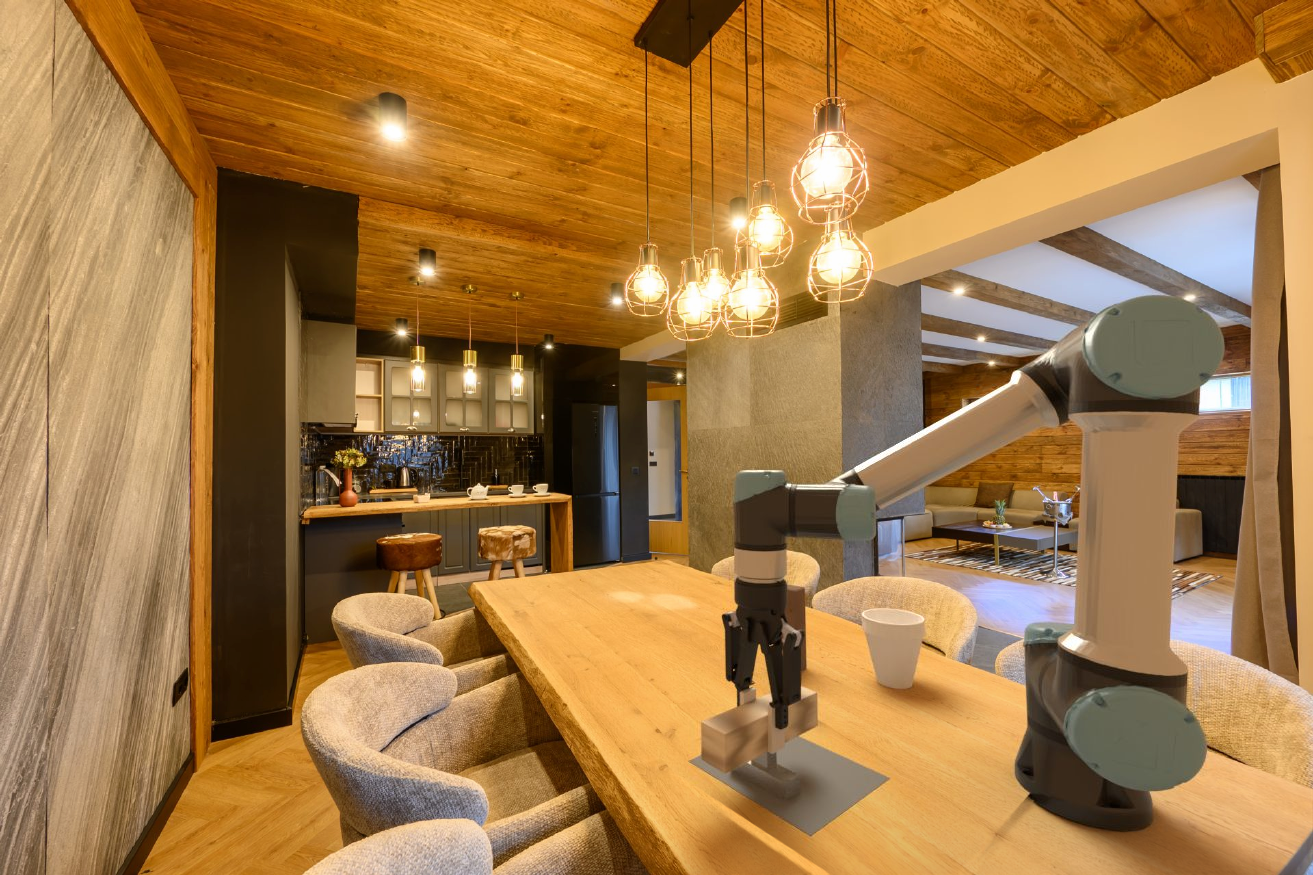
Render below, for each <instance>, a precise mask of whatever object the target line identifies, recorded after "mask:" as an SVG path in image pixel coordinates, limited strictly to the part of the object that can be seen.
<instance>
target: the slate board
mask: <svg viewBox="0 0 1313 875" xmlns="http://www.w3.org/2000/svg"><path fill="white" fill-rule="evenodd" d="M776 754H777V764H779V765H781V766H783V767H784V768H786V769H788V770H790V771H792V772H794V773H796V774H798V775H799V777H800V794H799V795H797V796H796V797H794V798H793V799H791V800H790V801H788V802H784V801H782V800H781V799H779V798H777V797H775V796H774V795H772V794H770V793H768V792H767V791H765V790H763V789H762V788H760V787H758V786H756V785H755V784H753V783H751V782H750V781H748V780H746V779H744V778H743V777H741V776H739V775H737V774H736V773H734V772H732V771H730V772H728V773H726V774H724V773H723V772H721V771H719V770H718V769H716V768H715V767H713V766H711V765H710V764H708V763H706V762H705V761H703V760H701V754H700V755H698V756H696V757H694V758H692V759H689V760H688V763H691V764H692V765H694V766H696V767H697V768H699V769H700V770H701V771H703V772H705V773H707V774H708V775H710V776H712V777H713V778H715V779H716V780H718V781H719V782H722V784H724V785H726V786H728V787H730V788H731V789H733V790H734V791H736V792H737V793H739V794H741V795H742V796H745V798H748V799H749V800H751V801H752V802H754V803H756V804H758V806H760V807H762V808H764V809H766V810H767V811H769V812H771V814H773V815H775V816H777V817H778V818H780V819H781V820H783V821H785V822H787V823H788V824H790V825H791V826H793V827H795V828H797V829H798V830H799V831H801V832H802V833H803V832H804V833H805V834H806V835H808V836H809V837H812V836H813V835H814V834H816V833H817V832H819V831H820V830H821V829H823V828H825V826H827V825H828V824H830V823H831V822H832V821H834V820H836V818H838V817H839V816H840V815H841V816H842V814H844V813H845V812H846V811H847V810H849V809H850V808H852V807H853V806H855V804H857V803H859V802H860V801H861V800H862V799H864V798H865V797H867V796H868V795H870V794H871V793H873V792H874V791H875V790H876V789H878V788H879V787H880V786H881V785H883V784H885V783H886V782H887V781H889V780H891V777H889V776H886V775H885V774H882V773H880V772H878V771H875V770H874V769H871V768H869V767H867V766H865V765H863V764H860V763H858V762H856V761H854V760H852V759H849V758H847V757H845V756H843V755H840V754H838V753H836V752H835V751H832V750H830V749H828V748H826V747H823V746H821V745H820V744H816V743H815V742H813V741H811V740H808V739H806V738H803V737H802V736H800V735H799V736H797V737H796V738H794V739H792V740H790V741H788V742H786V743H785V748H783V749H781V750H779V751H777V752H776Z"/></svg>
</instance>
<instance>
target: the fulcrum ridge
mask: <svg viewBox="0 0 1313 875" xmlns="http://www.w3.org/2000/svg"><path fill="white" fill-rule="evenodd" d="M732 772H734V773H736V774H737V775H739V776H741V777H743V778H744V779H746V780H748V781H750V782H751V783H753V784H755V785H756V786H758V787H760V788H762V789H763V790H765V791H767V792H768V793H770V794H772V795H774V796H775V797H777V798H779V799H781V800H782V801H784V802H788V801H790V800H791V799H793V798H794V797H796V796H797V795H799V794H800V777H799V775H798V774H796V773H794V772H792V771H790V770H788V769H786V768H784V767H783V766H781V765H779V764H777V754H776V752H775V753H773V754H771V753H769V752H767V753H765V754H763V755H761V756H759V757H757V758H755V759H753V760H751V761H749V762H747V763H745V764H743V765H742V766H740V767H738V768H736V769H734V770H732Z"/></svg>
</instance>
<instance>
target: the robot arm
mask: <svg viewBox="0 0 1313 875" xmlns="http://www.w3.org/2000/svg"><path fill="white" fill-rule="evenodd" d="M1224 355H1225V338H1224V335H1223V332H1222V330H1221V327H1220V325H1219V324H1218V323H1217V321H1216V320H1215V319H1214V318H1213V316H1211V315H1210V313H1209V312H1208V311H1206V310H1205V311H1204V309H1203V308H1201V307H1200V306H1198V305H1196V304H1195V303H1193V302H1191V301H1189V300H1186V299H1183V298H1180V297H1176V296H1172V295H1163V294H1149V295H1142V296H1136V297H1132V298H1129V299H1126V300H1123V301H1121V302H1118V303H1114V304H1112V305H1110V306H1107V307H1105V308H1103V309H1101V310H1100V311H1099V312H1098V313H1097V314H1095V315H1094V316H1092V318H1091V319H1090V320H1088V321H1087V322H1085V323H1083V324H1081V325H1080V326H1078V327H1076V328H1074V329H1073V330H1071V331H1070V332H1068V333H1067V334H1066V335H1064V336H1063V338H1061V339H1060V340H1059V341H1058V342H1056V343H1055V344H1054V345H1052V346H1051V347H1050V348H1048V350H1046V351H1045V352H1043V353H1042V354H1041V355H1039V356H1037V357H1036V358H1034V360H1032V361H1031V362H1028V363H1027V364H1025V365H1024V366H1022V367H1020V368H1018V369H1017V370H1014V371H1012V373H1011V377H1010V381H1009V382H1008V383H1005V384H1003V386H1000V387H999V388H997V389H995V390H992V391H991V392H990V393H988V394H986V395H984V396H982V397H980V398H978V399H977V400H975V401H973V402H971V403H970V404H968V405H966V406H964V407H961V409H960V408H959V409H958V410H957V411H954V412H953V413H951V414H949V415H947V416H946V417H944V418H941V419H940V420H938V421H937V422H935V423H933V424H931V425H929V426H927V427H926V428H923V429H922V430H920V431H918V432H917V433H915V434H912V435H911V436H909V437H908V438H906V439H904V440H902V441H900V442H899V443H897V444H895V445H893V446H891V447H889V448H887V449H886V450H884V451H882V452H881V453H878V454H876V455H874V456H873V457H871V458H869V459H868V460H866V461H864V462H862V463H861V464H859V465H857V466H855V467H854V468H852V469H850V470H848V471H846V472H844V473H842V474H840V475H838V476H837V477H835V478H833V479H830V480H828V481H826V482H824V483H822V484H798V483H795V484H793V483H788V480H787V474H786V472H785V471H784V470H774V469H773V470H770V469H746V470H745V469H744V470H740V471H739V472H737V473H736V474H735V476H734V484H733V485H734V488H733V500H732V505H733V533H734V534H733V535H734V537H733V538H734V542H733V544H734V546H733V547H734V549H733V552H734V553H733V556H734V557H733V565H734V566H733V573H734V575H736V577H735V579H734V581H733V585H734V586H733V588H734V595H733V596H734V597H733V598H734V602H735V604H736V605H737V606H736V609H735V610H734V611H729V612H725V613H722V615H721V620H722V624H723V628H724V651H725V652H724V656H725V657H724V658H725V659H724V660H725V662H724V663H725V679H726V681H728V682H731V683H733V685H734V687H735V689H736V707H738V706H740V705H743V704H745V703H747V702H750V701H752V700H755V699H757V688H756V687H754V686H753V685H755V684H756V683H755V681H754V680H753V678H754V671H755V667H756V660H757V655H758V650H759V646H760V651H761V654H763V657H764V661H765V667H766V672H767V677H768V684H769V689H770V693H771V696H772V702H770V703H769V704H768V752H769V753H771V754H773V753H775V752H777V751H779V750H781V749H783V748H785V728H786V727H787V726H788V706H789V705H792V704H794V703H796V702H798V701H800V700H801V686H802V671H801V646H802V643H803V640H804V637H805V633H804V632H803V630H797V631H796V630H795V629H793V628H792V627H791V626H790V625H788V620H787V618H786V615H785V608H786V605H787V602H788V600H787V585H788V581H787V580H786V579H785V577H786V576H787V575H788V562H787V559H788V554H787V551H788V550H787V548H788V542H787V541H788V540H787V538H805V539H806V538H807V539H819V540H820V539H821V540H838V541H846V542H853V541H872V540H873V539H874V538H875V537H876V535H877V515H876V514H877V512H878V511H880V510H882V509H884V508H885V507H888V506H890V505H892V504H894V503H896V502H897V501H900V500H901V499H903V498H905V497H907V496H909V495H912V494H913V493H915V492H918V491H919V490H921V489H923V488H925V487H927V486H929V485H931V484H933V483H934V482H937V481H939V480H940V479H943V478H944V477H945V478H946V476H948V475H950V474H953V473H954V472H956V471H958V470H960V469H962V468H964V467H966V466H968V465H970V464H972V463H973V462H974V463H975V462H976V461H977V460H980V459H981V458H982V459H983V458H984V457H985V456H988V455H990V454H991V453H993V452H995V451H997V450H999V449H1001V448H1003V447H1005V446H1007V445H1009V444H1011V443H1012V442H1015V441H1017V440H1018V439H1021V438H1023V437H1026V436H1027V435H1028V434H1031V433H1033V432H1035V431H1036V430H1038V429H1041V428H1043V427H1044V428H1049V429H1056V428H1058V427H1060V426H1062V425H1063V424H1066V423H1068V422H1070V421H1072V423H1074V424H1075V425H1076V426H1077V427H1078V428H1080V430H1081V431H1082V443H1081V444H1082V445H1081V463H1080V464H1081V469H1080V488H1079V507H1078V508H1079V509H1078V510H1079V511H1078V530H1077V532H1078V534H1077V550H1076V553H1077V554H1076V573H1075V574H1076V576H1075V577H1076V579H1075V594H1074V595H1075V596H1074V597H1075V598H1074V616H1073V617H1074V618H1073V621H1074V622H1073V623H1067V622H1066V623H1064V622H1049V621H1046V622H1045V621H1043V622H1042V621H1041V622H1037V621H1036V622H1033V623H1030V624H1028V625H1027V626H1025V628H1024V635H1023V642H1022V646H1023V648H1024V649H1023V650H1024V672H1025V673H1024V674H1025V676H1024V677H1025V700H1026V722H1027V725H1026V729H1025V733H1024V735H1023V737H1022V740H1021V743H1020V746H1019V749H1018V751H1017V753H1016V754H1017V755H1016V757H1015V759H1014V776H1015V778H1016V781H1017V782H1018V783H1019V785H1020V786H1021V787H1022V788H1023V789H1024V790H1025V791H1026V792H1028V793H1029V794H1028V795H1026V796H1027V798H1028V799H1030V800H1031V801H1033V802H1034V803H1035V804H1037V805H1038V806H1040V807H1041V808H1043V809H1045V810H1048V812H1051V813H1054V814H1056V815H1058V816H1059V817H1062V818H1064V819H1067V820H1070V821H1073V822H1075V823H1079V824H1083V825H1086V826H1089V827H1094V828H1098V829H1103V830H1111V831H1124V832H1125V831H1126V832H1127V831H1135V830H1142V829H1144V828H1146V827H1147V828H1148V826H1150V825H1151V823H1153V819H1154V808H1153V804H1154V803H1153V798H1152V794H1151V792H1162V791H1163V792H1164V791H1167V790H1168V791H1169V790H1172V789H1175V787H1177V786H1180V785H1182V784H1183V783H1184V784H1186V783H1188V782H1190V781H1191V780H1192V779H1193V778H1195V777H1196V775H1198V773H1199V772H1200V771H1201V770H1202V768H1203V767H1204V764H1205V762H1206V758H1207V753H1208V742H1207V737H1206V734H1205V732H1204V730H1203V728H1202V726H1201V724H1200V722H1199V720H1198V718H1197V717H1196V716H1195V713H1194V712H1193V711H1191V710H1190V709H1189V708H1188V707H1187V698H1188V675H1189V674H1188V673H1189V671H1188V670H1189V669H1188V665H1187V664H1186V663H1185V661H1184V660H1182V659H1181V658H1180V657H1179V656H1178V655H1177V654H1176V653H1175V652H1174V651H1173V650H1172V647H1171V625H1172V624H1171V623H1172V602H1173V601H1172V599H1173V581H1174V580H1173V579H1174V577H1173V576H1174V557H1175V556H1174V554H1175V536H1176V535H1175V534H1176V532H1175V530H1176V512H1177V510H1176V509H1177V488H1178V487H1177V486H1178V466H1179V464H1178V463H1179V444H1180V443H1179V441H1180V435H1181V433H1182V432H1183V431H1184V430H1186V429H1187V428H1188V427H1190V426H1191V425H1192V424H1194V423H1196V421H1197V422H1198V420H1200V418H1199V416H1200V403H1201V387H1202V386H1203V385H1205V384H1207V383H1208V382H1209V381H1210V380H1211V378H1212V377H1213V376H1214V375H1215V374H1216V373H1217V371H1218V369H1219V368H1220V366H1221V364H1222V362H1223V359H1224ZM782 634H783V635H784V638H783V639H782V636H781V635H782ZM783 643H784V646H783ZM782 650H783V655H782ZM750 686H751V687H750Z"/></svg>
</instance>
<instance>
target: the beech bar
mask: <svg viewBox="0 0 1313 875" xmlns="http://www.w3.org/2000/svg"><path fill="white" fill-rule="evenodd" d="M770 702H772V696H771V692H769V693H767V694H764V695H762V696H759V697H756V699H755V700H752V701H750V702H747V703H745V704H743V705H740V706H738V707H737V706H735V707H733V708H731V709H728V710H726V711H723V712H721V713H719V714H717V715H715V716H713V717H709V718H708V719H704V720H702V721H701V722H700V728H701V730H700V732H701V733H700V734H701V735H700V736H701V737H700V741H701V742H700V744H701V750H700V751H701V753H700V755H701V760H703V761H705V762H706V763H708V764H710V765H711V766H713V767H715V768H716V769H718V770H719V771H721V772H723V773H724V774H726V773H728V772H730V771H732V770H734V769H736V768H738V767H740V766H742V765H743V764H745V763H747V762H749V761H751V760H753V759H755V758H757V757H759V756H761V755H763V754H765V753H767V752H768V704H769V703H770ZM818 707H819V706H818V692H817V691H814V690H812V689H810V688H807V687H805V686H802V685H801V700H800V701H798V702H796V703H794V704H792V705H789V706H788V726H787V727H786V728H785V743H786V742H788V741H790V740H792V739H794V738H796V737H797V736H799V737H800V736H801V735H803V734H805V733H807V732H809V731H811V730H813V729H815V728H817V727H818V725H819V722H818V721H819V720H818V713H819V710H818Z"/></svg>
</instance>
